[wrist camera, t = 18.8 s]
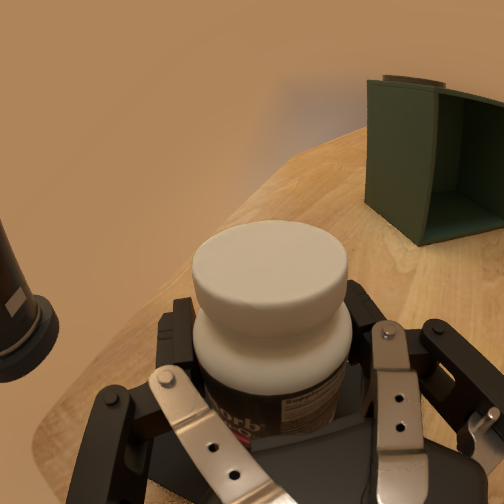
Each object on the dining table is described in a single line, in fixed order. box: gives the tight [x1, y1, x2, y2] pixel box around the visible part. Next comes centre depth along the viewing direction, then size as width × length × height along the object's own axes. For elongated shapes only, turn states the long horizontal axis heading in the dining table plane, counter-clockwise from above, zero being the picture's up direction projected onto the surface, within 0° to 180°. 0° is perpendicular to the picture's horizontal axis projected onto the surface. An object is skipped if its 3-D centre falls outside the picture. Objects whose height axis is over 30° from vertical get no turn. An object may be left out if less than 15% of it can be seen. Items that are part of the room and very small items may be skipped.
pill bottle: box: [192, 220, 353, 449], centre depth 12 cm, size 6×6×10 cm
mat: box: [148, 362, 422, 504], centre depth 15 cm, size 16×12×1 cm
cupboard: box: [364, 80, 504, 246], centre depth 33 cm, size 13×19×17 cm
